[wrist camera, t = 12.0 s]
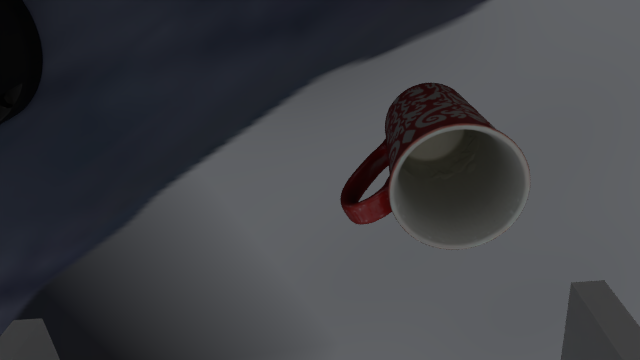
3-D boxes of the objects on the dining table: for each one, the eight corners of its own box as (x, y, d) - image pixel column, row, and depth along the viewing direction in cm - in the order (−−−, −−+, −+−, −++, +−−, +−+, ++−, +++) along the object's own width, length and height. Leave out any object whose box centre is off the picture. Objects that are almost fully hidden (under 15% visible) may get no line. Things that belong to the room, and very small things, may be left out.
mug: (462, 52, 43) (510, 101, 31) (492, 147, 46) (546, 225, 34) (321, 110, 46) (314, 176, 33) (359, 195, 49) (366, 283, 37)
